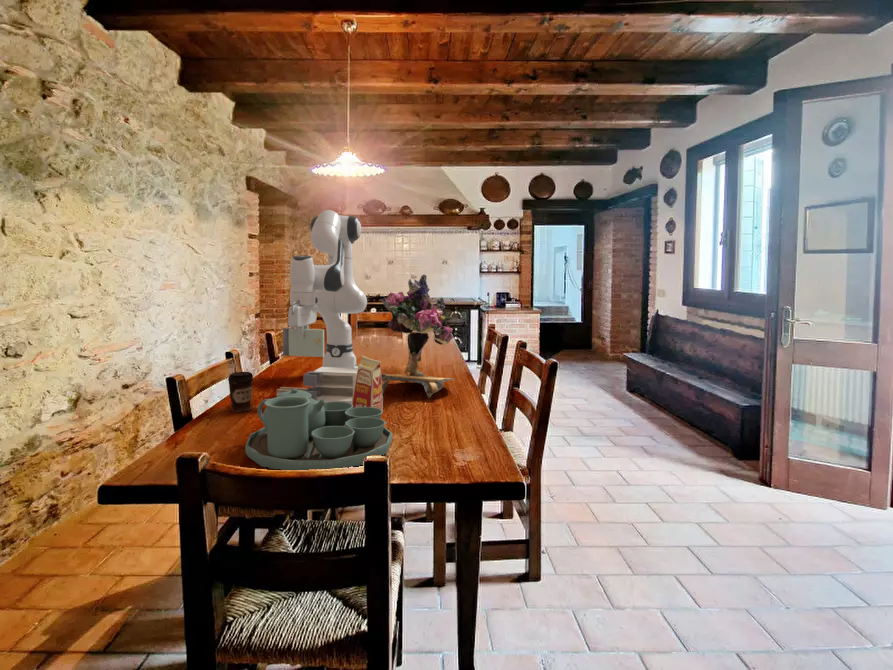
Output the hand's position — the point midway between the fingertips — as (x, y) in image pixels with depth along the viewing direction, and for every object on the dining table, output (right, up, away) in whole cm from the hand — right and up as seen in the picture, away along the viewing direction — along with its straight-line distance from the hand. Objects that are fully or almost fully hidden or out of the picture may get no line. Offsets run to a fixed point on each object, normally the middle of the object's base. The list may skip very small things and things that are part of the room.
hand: (302, 337), depth 207 cm
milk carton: (+26, -26, -13) cm, 40 cm away
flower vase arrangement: (+40, -22, +22) cm, 51 cm away
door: (0, -7, 0) cm, 7 cm away
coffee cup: (-18, -25, -13) cm, 34 cm away
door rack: (-6, -23, +7) cm, 25 cm away
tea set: (+18, -31, -49) cm, 61 cm away
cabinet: (+11, -24, +3) cm, 26 cm away
